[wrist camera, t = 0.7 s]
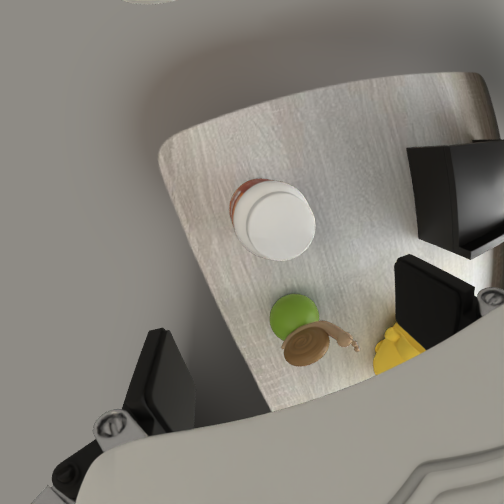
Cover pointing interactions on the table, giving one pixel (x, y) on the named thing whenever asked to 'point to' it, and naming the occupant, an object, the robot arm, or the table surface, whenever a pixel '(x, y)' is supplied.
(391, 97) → the table surface
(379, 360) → the teapot
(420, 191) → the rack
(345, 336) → the snail figurine
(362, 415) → the robot arm
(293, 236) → the pill bottle
